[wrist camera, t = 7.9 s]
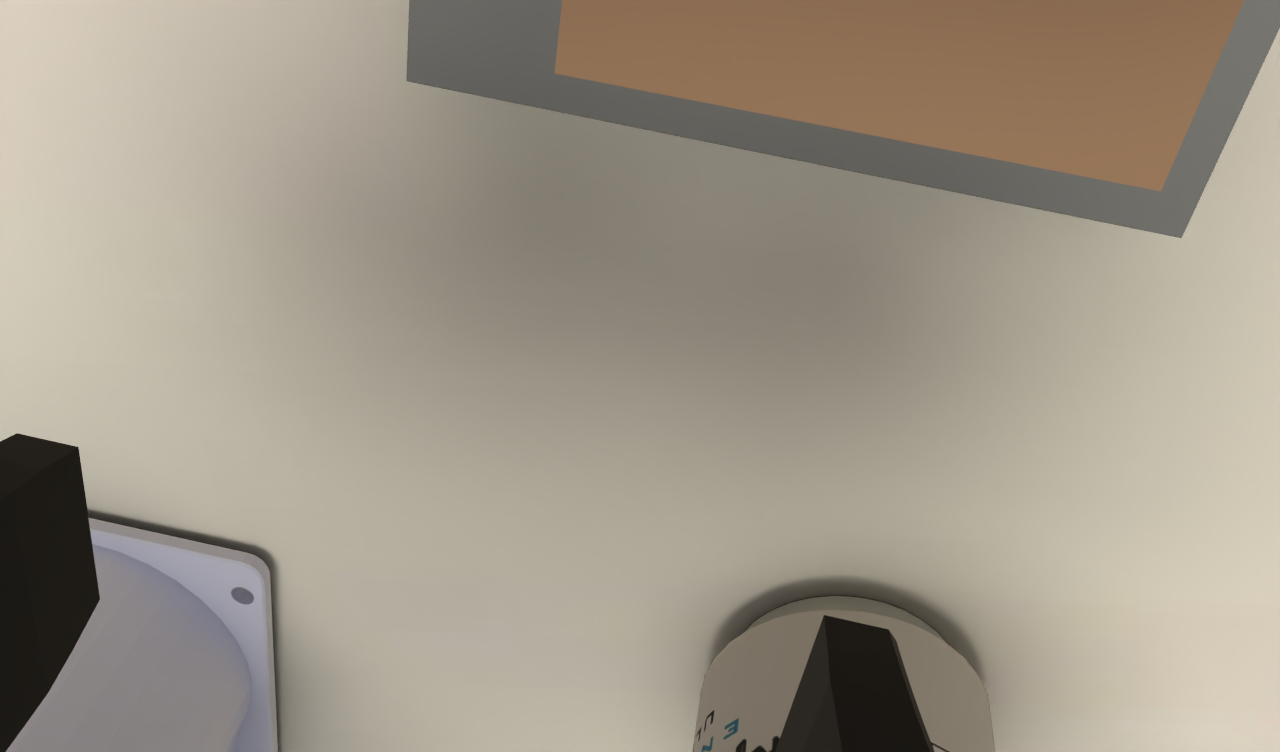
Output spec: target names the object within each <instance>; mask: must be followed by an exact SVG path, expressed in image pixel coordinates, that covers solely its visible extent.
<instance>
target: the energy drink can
mask: <svg viewBox="0 0 1280 752" xmlns="http://www.w3.org/2000/svg"><path fill="white" fill-rule="evenodd" d="M824 615H827V616H831V617H836V618H840V619H845V620H849V621H853V622H858V623H862V624H867V625H871V626H876V627H880V628H885V629H889V631H890V632H891V634H892V635H893V637H894V638H895V639H896V641H897V644H898V648H899V651H900V654H901V658H902V661H903V664H904V667H905V670H906V673H907V676H908V679H909V682H910V685H911V688H912V691H913V694H914V697H915V700H916V703H917V706H918V708H919V711H920V714H921V717H922V720H923V722H924V725H925V728H926V730H927V733H928V736H929V738H930V741H931V744H932V746H933V749H934V752H995V748H994V739H993V731H992V722H991V714H990V707H989V701H988V695H987V693H986V690H985V688H984V686H983V684H982V682H981V680H980V677H979V675H978V674H977V673H976V672H975V670H974V669H973V668H972V667H971V665H970V664H969V663H968V662H967V660H966V659H965V658H964V657H963V656H962V655H960V654H959V653H958V652H957V651H956V650H954V649H953V648H952V647H951V646H949V645H948V644H947V643H946V642H945V641H944V640H943V638H942V637H941V636H940V635H939V633H937V632H936V631H935V630H934V629H932V628H931V627H930V626H929V625H928V624H926V623H925V622H924V621H923V620H921V619H919V618H917V617H915V616H914V615H912V614H910V613H908V612H906V611H905V610H903V609H900V608H897V607H894V606H892V605H889V604H886V603H883V602H879V601H875V600H870V599H865V598H860V597H847V596H826V597H814V598H808V599H804V600H800V601H796V602H791V603H788V604H786V605H783V606H781V607H779V608H776V609H774V610H772V611H770V612H768V613H767V614H765V615H764V616H762V617H760V618H759V619H757V620H756V621H754V622H753V623H752V624H751V625H750V626H749V628H748V629H747V630H746V631H745V632H744V633H743V634H741V635H740V636H738V637H737V638H735V639H734V640H732V641H731V642H730V643H729V644H728V645H727V646H726V647H725V648H724V649H723V650H722V651H721V652H720V653H719V654H718V655H717V656H716V657H715V659H714V660H713V662H712V664H711V666H710V667H709V669H708V671H707V673H706V674H705V678H704V682H703V686H702V690H701V695H700V702H699V709H698V716H697V723H696V730H695V738H694V745H693V752H775V751H776V748H777V745H778V742H779V739H780V737H781V734H782V731H783V728H784V725H785V723H786V720H787V717H788V714H789V711H790V709H791V706H792V703H793V700H794V697H795V695H796V692H797V689H798V686H799V683H800V681H801V678H802V675H803V672H804V669H805V667H806V664H807V661H808V658H809V655H810V653H811V650H812V647H813V644H814V641H815V639H816V636H817V633H818V630H819V627H820V625H821V622H822V619H823V616H824Z"/></svg>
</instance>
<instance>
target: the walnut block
mask: <svg viewBox="0 0 1280 752" xmlns="http://www.w3.org/2000/svg"><path fill="white" fill-rule="evenodd" d="M1243 2H1244V0H562V7H561V17H560V27H559V36H558V46H557V55H556V65H555V74H560V75H565V76H570V77H575V78H580V79H586V80H591V81H596V82H601V83H606V84H611V85H616V86H622V87H627V88H632V89H637V90H642V91H647V92H652V93H658V94H663V95H668V96H673V97H678V98H683V99H688V100H694V101H699V102H704V103H709V104H714V105H719V106H724V107H730V108H735V109H740V110H745V111H750V112H755V113H760V114H765V115H771V116H776V117H781V118H786V119H791V120H796V121H801V122H807V123H812V124H817V125H822V126H827V127H832V128H837V129H843V130H848V131H853V132H858V133H863V134H868V135H873V136H879V137H884V138H889V139H894V140H899V141H904V142H909V143H915V144H920V145H925V146H930V147H935V148H940V149H945V150H951V151H956V152H961V153H966V154H971V155H976V156H981V157H987V158H992V159H997V160H1002V161H1007V162H1012V163H1017V164H1023V165H1028V166H1033V167H1038V168H1043V169H1048V170H1053V171H1059V172H1064V173H1069V174H1074V175H1079V176H1084V177H1089V178H1095V179H1100V180H1105V181H1110V182H1115V183H1120V184H1125V185H1131V186H1136V187H1141V188H1146V189H1151V190H1156V191H1161V190H1162V188H1163V186H1164V183H1165V181H1166V179H1167V176H1168V174H1169V172H1170V170H1171V167H1172V165H1173V163H1174V160H1175V158H1176V156H1177V154H1178V151H1179V149H1180V147H1181V144H1182V142H1183V140H1184V138H1185V135H1186V133H1187V131H1188V128H1189V126H1190V124H1191V121H1192V119H1193V117H1194V115H1195V112H1196V110H1197V108H1198V105H1199V103H1200V101H1201V99H1202V96H1203V94H1204V92H1205V89H1206V87H1207V85H1208V83H1209V80H1210V78H1211V76H1212V73H1213V71H1214V69H1215V66H1216V64H1217V62H1218V60H1219V57H1220V55H1221V53H1222V50H1223V48H1224V46H1225V44H1226V41H1227V39H1228V37H1229V34H1230V32H1231V30H1232V28H1233V25H1234V23H1235V21H1236V18H1237V16H1238V14H1239V12H1240V9H1241V7H1242V5H1243Z"/></svg>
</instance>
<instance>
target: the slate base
mask: <svg viewBox="0 0 1280 752" xmlns="http://www.w3.org/2000/svg"><path fill="white" fill-rule="evenodd" d="M561 7H562V0H410V2H409V30H408V58H407V81H409V82H414V83H419V84H424V85H429V86H434V87H439V88H443V89H448V90H453V91H458V92H463V93H468V94H473V95H478V96H483V97H488V98H493V99H498V100H503V101H508V102H513V103H517V104H522V105H527V106H532V107H537V108H542V109H547V110H552V111H557V112H562V113H567V114H572V115H577V116H582V117H587V118H592V119H596V120H601V121H606V122H611V123H616V124H621V125H626V126H631V127H636V128H641V129H646V130H651V131H656V132H661V133H666V134H670V135H675V136H680V137H685V138H690V139H695V140H700V141H705V142H710V143H715V144H720V145H725V146H730V147H735V148H740V149H744V150H749V151H754V152H759V153H764V154H769V155H774V156H779V157H784V158H789V159H794V160H799V161H804V162H809V163H814V164H818V165H823V166H828V167H833V168H838V169H843V170H848V171H853V172H858V173H863V174H868V175H873V176H878V177H883V178H888V179H892V180H897V181H902V182H907V183H912V184H917V185H922V186H927V187H932V188H937V189H942V190H947V191H952V192H957V193H962V194H967V195H971V196H976V197H981V198H986V199H991V200H996V201H1001V202H1006V203H1011V204H1016V205H1021V206H1026V207H1031V208H1036V209H1041V210H1045V211H1050V212H1055V213H1060V214H1065V215H1070V216H1075V217H1080V218H1085V219H1090V220H1095V221H1100V222H1105V223H1110V224H1115V225H1119V226H1124V227H1129V228H1134V229H1139V230H1144V231H1149V232H1154V233H1159V234H1164V235H1169V236H1174V237H1179V238H1182V236H1183V233H1184V231H1185V229H1186V227H1187V225H1188V223H1189V221H1190V218H1191V216H1192V214H1193V212H1194V210H1195V208H1196V206H1197V203H1198V201H1199V199H1200V197H1201V195H1202V193H1203V191H1204V188H1205V186H1206V184H1207V182H1208V180H1209V178H1210V176H1211V173H1212V171H1213V169H1214V167H1215V165H1216V163H1217V161H1218V158H1219V156H1220V154H1221V152H1222V150H1223V148H1224V146H1225V144H1226V141H1227V139H1228V137H1229V135H1230V133H1231V131H1232V129H1233V126H1234V124H1235V122H1236V120H1237V118H1238V116H1239V114H1240V111H1241V109H1242V107H1243V105H1244V103H1245V101H1246V99H1247V96H1248V94H1249V92H1250V90H1251V88H1252V86H1253V84H1254V81H1255V79H1256V77H1257V75H1258V73H1259V71H1260V69H1261V67H1262V64H1263V62H1264V60H1265V58H1266V56H1267V54H1268V52H1269V49H1270V47H1271V45H1272V43H1273V41H1274V39H1275V37H1276V34H1277V32H1278V30H1279V28H1280V0H1244V2H1243V5H1242V7H1241V9H1240V12H1239V14H1238V16H1237V18H1236V21H1235V23H1234V25H1233V28H1232V30H1231V32H1230V34H1229V37H1228V39H1227V41H1226V44H1225V46H1224V48H1223V50H1222V53H1221V55H1220V57H1219V60H1218V62H1217V64H1216V66H1215V69H1214V71H1213V73H1212V76H1211V78H1210V80H1209V83H1208V85H1207V87H1206V89H1205V92H1204V94H1203V96H1202V99H1201V101H1200V103H1199V105H1198V108H1197V110H1196V112H1195V115H1194V117H1193V119H1192V121H1191V124H1190V126H1189V128H1188V131H1187V133H1186V135H1185V138H1184V140H1183V142H1182V144H1181V147H1180V149H1179V151H1178V154H1177V156H1176V158H1175V160H1174V163H1173V165H1172V167H1171V170H1170V172H1169V174H1168V176H1167V179H1166V181H1165V183H1164V186H1163V188H1162V190H1161V191H1156V190H1151V189H1146V188H1141V187H1136V186H1131V185H1125V184H1120V183H1115V182H1110V181H1105V180H1100V179H1095V178H1089V177H1084V176H1079V175H1074V174H1069V173H1064V172H1059V171H1053V170H1048V169H1043V168H1038V167H1033V166H1028V165H1023V164H1017V163H1012V162H1007V161H1002V160H997V159H992V158H987V157H981V156H976V155H971V154H966V153H961V152H956V151H951V150H945V149H940V148H935V147H930V146H925V145H920V144H915V143H909V142H904V141H899V140H894V139H889V138H884V137H879V136H873V135H868V134H863V133H858V132H853V131H848V130H843V129H837V128H832V127H827V126H822V125H817V124H812V123H807V122H801V121H796V120H791V119H786V118H781V117H776V116H771V115H765V114H760V113H755V112H750V111H745V110H740V109H735V108H730V107H724V106H719V105H714V104H709V103H704V102H699V101H694V100H688V99H683V98H678V97H673V96H668V95H663V94H658V93H652V92H647V91H642V90H637V89H632V88H627V87H622V86H616V85H611V84H606V83H601V82H596V81H591V80H586V79H580V78H575V77H570V76H565V75H560V74H555V65H556V55H557V46H558V36H559V27H560V17H561Z"/></svg>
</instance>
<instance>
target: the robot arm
mask: <svg viewBox="0 0 1280 752" xmlns="http://www.w3.org/2000/svg"><path fill="white" fill-rule="evenodd" d="M244 588H245V589H247V590H245V589H244ZM248 590H249V591H248ZM0 752H278V742H277V719H276V697H275V674H274V652H273V630H272V607H271V585H270V572H269V569H268V567H267V565H266V564H265V563H264V562H263V560H261V559H260V558H259V557H257V556H255V555H253V554H250V553H246V552H242V551H237V550H233V549H228V548H224V547H219V546H215V545H210V544H206V543H201V542H197V541H192V540H188V539H183V538H178V537H174V536H169V535H165V534H160V533H156V532H151V531H147V530H142V529H138V528H133V527H129V526H124V525H120V524H115V523H110V522H106V521H101V520H97V519H92V518H88V512H87V505H86V498H85V491H84V484H83V477H82V470H81V463H80V456H79V449H78V447H75V446H71V445H66V444H62V443H57V442H53V441H48V440H44V439H39V438H35V437H30V436H26V435H22V434H15V435H13V436H11V437H9V438H7V439H5V440H3V441H1V442H0ZM775 752H934V749H933V746H932V744H931V741H930V738H929V736H928V733H927V730H926V728H925V725H924V722H923V720H922V717H921V714H920V711H919V708H918V706H917V703H916V700H915V697H914V694H913V691H912V688H911V685H910V682H909V679H908V676H907V673H906V670H905V667H904V664H903V661H902V658H901V654H900V651H899V648H898V644H897V641H896V639H895V638H894V637H893V635H892V634H891V632H890V631H889V629H885V628H880V627H876V626H871V625H867V624H862V623H858V622H853V621H849V620H845V619H840V618H836V617H831V616H827V615H824V616H823V619H822V622H821V625H820V627H819V630H818V633H817V636H816V639H815V641H814V644H813V647H812V650H811V653H810V655H809V658H808V661H807V664H806V667H805V669H804V672H803V675H802V678H801V681H800V683H799V686H798V689H797V692H796V695H795V697H794V700H793V703H792V706H791V709H790V711H789V714H788V717H787V720H786V723H785V725H784V728H783V731H782V734H781V737H780V739H779V742H778V745H777V748H776V751H775Z"/></svg>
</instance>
